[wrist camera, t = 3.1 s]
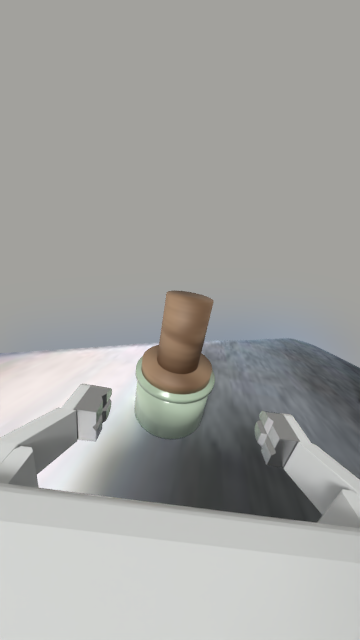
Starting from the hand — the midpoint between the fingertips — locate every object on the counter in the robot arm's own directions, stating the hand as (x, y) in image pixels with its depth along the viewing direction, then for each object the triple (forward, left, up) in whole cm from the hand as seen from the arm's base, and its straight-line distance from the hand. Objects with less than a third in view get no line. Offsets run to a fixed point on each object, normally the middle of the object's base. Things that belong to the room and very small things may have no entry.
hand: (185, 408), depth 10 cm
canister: (-5, -10, -11) cm, 16 cm away
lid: (-5, -10, -5) cm, 12 cm away
